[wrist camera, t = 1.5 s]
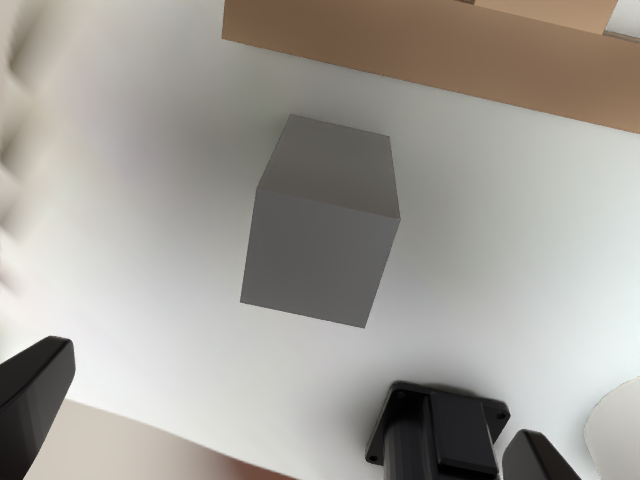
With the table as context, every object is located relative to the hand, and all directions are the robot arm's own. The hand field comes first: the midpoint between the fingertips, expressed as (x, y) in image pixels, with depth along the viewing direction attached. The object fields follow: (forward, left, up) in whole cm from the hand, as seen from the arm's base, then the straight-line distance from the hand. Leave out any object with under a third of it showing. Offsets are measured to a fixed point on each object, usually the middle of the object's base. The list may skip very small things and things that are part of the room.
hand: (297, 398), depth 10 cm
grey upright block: (0, 0, -12) cm, 12 cm away
